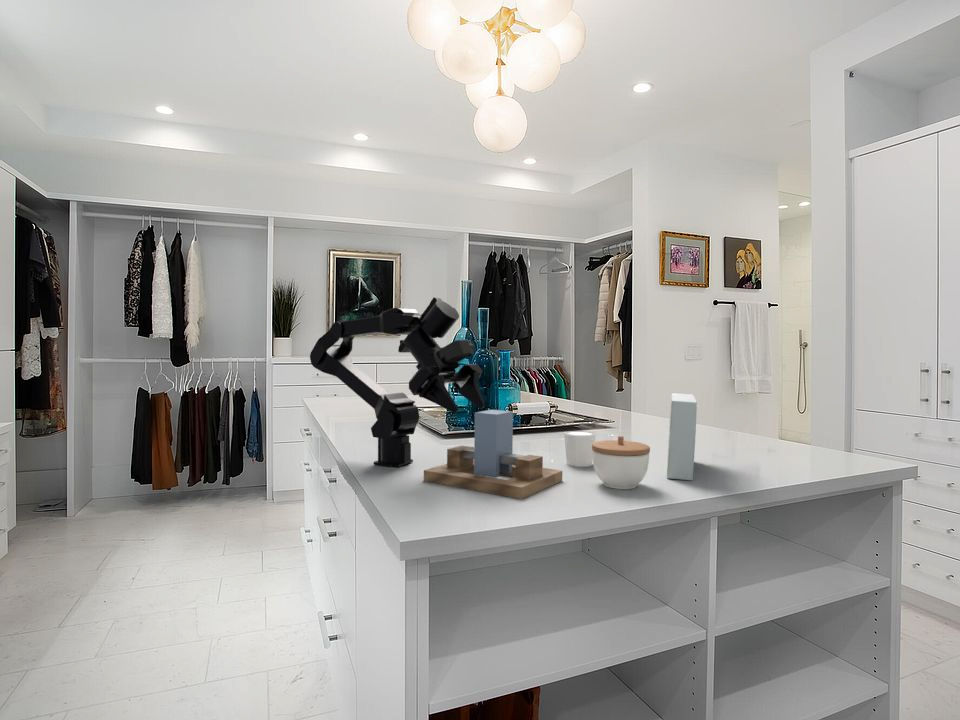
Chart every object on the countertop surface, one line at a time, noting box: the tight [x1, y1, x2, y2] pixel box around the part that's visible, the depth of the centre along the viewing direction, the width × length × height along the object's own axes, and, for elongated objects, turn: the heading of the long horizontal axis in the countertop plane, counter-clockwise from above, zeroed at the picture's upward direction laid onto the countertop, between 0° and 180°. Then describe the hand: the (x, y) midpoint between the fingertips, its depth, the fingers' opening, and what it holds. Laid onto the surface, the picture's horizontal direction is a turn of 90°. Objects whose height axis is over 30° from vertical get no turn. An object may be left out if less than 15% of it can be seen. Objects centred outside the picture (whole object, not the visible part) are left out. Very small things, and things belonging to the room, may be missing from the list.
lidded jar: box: [592, 435, 651, 490], centre depth 108 cm, size 11×11×9 cm
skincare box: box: [666, 392, 698, 481], centre depth 122 cm, size 21×6×16 cm, turn 161°
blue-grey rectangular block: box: [473, 409, 514, 478], centre depth 110 cm, size 6×5×12 cm
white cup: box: [564, 430, 596, 468], centre depth 126 cm, size 7×7×7 cm
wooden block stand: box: [423, 445, 563, 500], centre depth 110 cm, size 22×16×6 cm
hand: (470, 409), depth 113 cm, fingers open, 9 cm apart
